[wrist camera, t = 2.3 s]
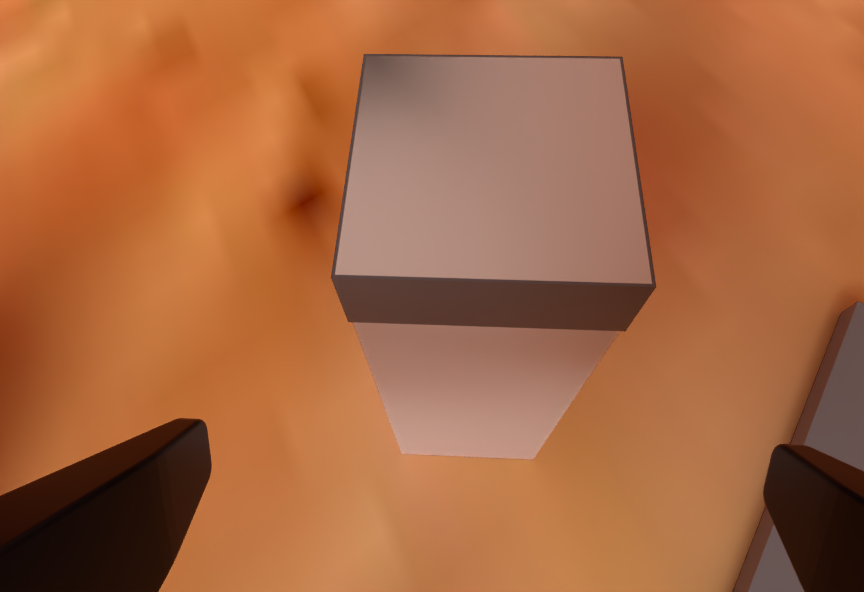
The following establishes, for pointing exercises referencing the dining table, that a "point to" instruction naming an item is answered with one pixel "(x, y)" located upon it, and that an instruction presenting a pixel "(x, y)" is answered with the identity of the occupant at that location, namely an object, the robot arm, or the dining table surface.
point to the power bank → (489, 241)
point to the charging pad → (817, 444)
